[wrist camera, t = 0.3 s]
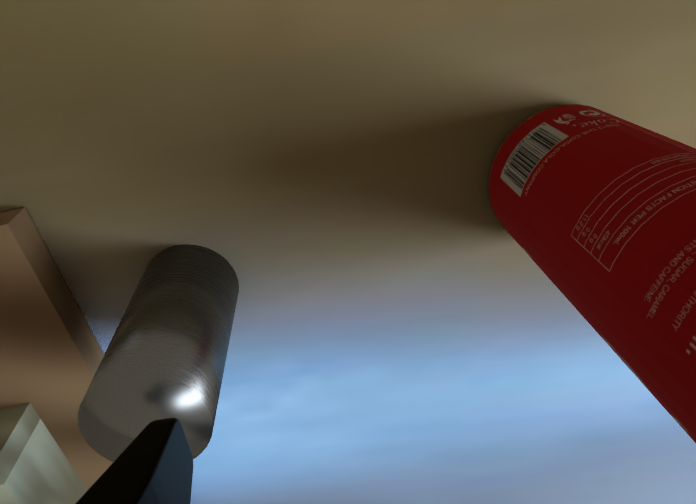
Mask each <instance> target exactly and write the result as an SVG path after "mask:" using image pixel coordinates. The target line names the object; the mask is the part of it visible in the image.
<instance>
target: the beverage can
mask: <svg viewBox="0 0 696 504" xmlns="http://www.w3.org/2000/svg"><path fill="white" fill-rule="evenodd" d="M489 196H490V202H491V205H492V208H493V211H494V213H495V215H496V217H497V218H498V220H499V221H500V223H501V225H502V226H503V227H504V228H505V229H506V230H507V231H508V233H509V234H510V235H511V236H512V237H513V238H514V239H515V240H516V242H517V243H518V244H519V245H520V246H521V247H522V248H523V249H524V251H525V252H526V253H527V254H528V255H529V256H530V257H531V258H532V260H533V261H534V262H535V263H536V264H537V265H538V266H539V267H540V269H541V270H542V271H543V272H544V273H545V274H546V275H547V276H548V278H549V279H550V280H551V281H552V282H553V283H554V284H555V285H556V287H557V288H558V289H559V290H560V291H561V292H562V293H563V294H564V295H565V297H566V298H567V299H568V300H569V301H570V302H571V303H572V304H573V306H574V307H575V308H576V309H577V310H578V311H579V312H580V313H581V315H582V316H583V317H584V318H585V319H586V320H587V321H588V322H589V324H590V325H591V326H592V327H593V328H594V329H595V330H596V331H597V333H598V334H599V335H600V336H601V337H602V338H603V339H604V340H605V342H606V343H607V344H608V345H609V346H610V347H611V348H612V349H613V351H614V352H615V353H616V354H617V355H618V356H619V357H620V358H621V360H622V361H623V362H624V363H625V364H626V365H627V366H628V367H629V369H630V370H631V371H632V372H633V373H634V374H635V375H636V376H637V378H638V379H639V380H640V381H641V382H642V383H643V384H644V385H645V387H646V388H647V389H648V390H649V391H650V392H651V393H652V394H653V396H654V397H655V398H656V399H657V400H658V401H659V402H660V403H661V405H662V406H663V407H664V408H665V409H666V410H667V411H668V412H669V414H670V415H671V416H672V417H673V418H674V419H675V420H676V421H677V423H678V424H679V425H680V426H681V427H682V428H683V429H684V430H685V432H686V433H687V434H688V435H689V436H690V437H691V438H692V439H693V441H694V442H695V443H696V149H695V148H693V147H690V146H688V145H685V144H683V143H680V142H678V141H675V140H673V139H670V138H668V137H665V136H663V135H660V134H658V133H655V132H653V131H651V130H648V129H646V128H643V127H641V126H638V125H636V124H633V123H631V122H628V121H626V120H623V119H621V118H618V117H616V116H613V115H611V114H608V113H606V112H603V111H601V110H598V109H596V108H593V107H590V106H584V105H578V104H576V105H561V106H557V107H553V108H549V109H546V110H543V111H541V112H539V113H537V114H535V115H533V116H531V117H530V118H528V119H527V120H525V121H524V122H523V123H521V124H520V125H519V126H518V127H517V128H516V129H515V130H514V131H513V132H512V133H511V134H510V135H509V136H508V137H507V138H506V140H505V141H504V143H503V144H502V145H501V147H500V148H499V150H498V153H497V155H496V157H495V159H494V161H493V164H492V168H491V171H490V176H489Z"/></svg>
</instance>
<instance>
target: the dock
mask: <svg viewBox="0 0 696 504" xmlns="http://www.w3.org/2000/svg"><path fill="white" fill-rule="evenodd" d="M103 357H104V353H103V351H102V350H101V348H100V346H99V344H98V342H97V340H96V338H95V336H94V335H93V333H92V331H91V329H90V327H89V325H88V323H87V322H86V320H85V318H84V316H83V314H82V312H81V310H80V309H79V307H78V305H77V303H76V301H75V299H74V297H73V296H72V294H71V292H70V290H69V288H68V286H67V284H66V283H65V281H64V279H63V277H62V275H61V273H60V271H59V270H58V268H57V266H56V264H55V262H54V260H53V258H52V257H51V255H50V253H49V251H48V249H47V247H46V245H45V244H44V242H43V240H42V238H41V236H40V234H39V232H38V231H37V229H36V227H35V225H34V223H33V221H32V219H31V218H30V216H29V214H28V212H27V210H26V208H25V207H23V208H19V209H14V210H10V211H5V212H1V213H0V504H75V503H76V502H77V501H78V500H79V499H80V498H81V497H82V496H83V495H84V494H85V492H86V491H87V490H88V489H89V488H90V487H91V486H92V485H93V484H94V483H95V482H96V480H97V479H98V478H99V477H100V476H101V475H102V474H103V473H104V472H105V471H106V470H107V468H108V467H109V466H110V465H111V464H112V463H113V462H112V461H110V460H108V459H106V458H104V457H103V456H101V455H100V454H98V453H97V452H96V451H95V450H93V449H92V448H91V447H90V446H89V445H88V443H87V442H86V441H85V439H84V438H83V436H82V434H81V432H80V429H79V426H78V420H77V419H78V410H79V406H80V404H81V402H82V400H83V398H84V396H85V394H86V392H87V390H88V388H89V385H90V383H91V381H92V379H93V377H94V375H95V373H96V371H97V369H98V367H99V365H100V363H101V361H102V359H103Z"/></svg>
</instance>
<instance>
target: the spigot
mask: <svg viewBox="0 0 696 504" xmlns="http://www.w3.org/2000/svg"><path fill="white" fill-rule="evenodd" d="M238 292H239V284H238V279H237V275H236V273H235V271H234V269H233V268H232V266H231V265H230V264H229V263H228V261H227V260H225V259H224V258H223V257H222V256H221V255H219V254H218V253H216V252H214V251H212V250H210V249H208V248H204V247H201V246H196V245H178V246H174V247H170V248H167V249H165V250H163V251H161V252H160V253H158V254H157V255H156V256H155V257H154V258H153V259H152V260H151V261H150V262H149V264H148V266H147V268H146V270H145V272H144V274H143V276H142V278H141V280H140V282H139V284H138V286H137V288H136V290H135V293H134V295H133V297H132V299H131V301H130V303H129V305H128V307H127V309H126V311H125V313H124V315H123V317H122V319H121V321H120V323H119V326H118V328H117V330H116V332H115V334H114V336H113V338H112V340H111V342H110V344H109V346H108V348H107V350H106V352H105V354H104V357H103V359H102V361H101V363H100V365H99V367H98V369H97V371H96V373H95V375H94V377H93V379H92V381H91V383H90V385H89V388H88V390H87V392H86V394H85V396H84V398H83V400H82V402H81V404H80V406H79V410H78V419H77V420H78V426H79V429H80V432H81V434H82V436H83V438H84V439H85V441H86V442H87V443H88V445H89V446H90V447H91V448H92V449H93V450H95V451H96V452H97V453H98V454H100V455H101V456H103V457H104V458H106V459H108V460H110V461H112V462H114V461H115V460H116V459H117V458H118V456H119V455H120V454H121V453H122V452H123V451H124V450H125V449H126V448H127V447H128V446H129V444H130V443H131V442H132V441H133V440H134V439H135V438H136V437H137V436H138V435H139V434H140V432H141V431H142V430H143V429H144V428H145V427H146V426H147V425H148V424H149V423H150V422H152V421H154V420H159V419H166V418H177V419H178V420H179V421H180V422H181V425H182V427H183V430H184V433H185V436H186V438H187V441H188V444H189V447H190V450H191V453H192V457H193V459H194V458H196V457H197V456H198V455H199V454H201V453H202V452H203V450H204V449H205V448H206V447H207V445H208V443H209V441H210V439H211V436H212V431H213V426H214V420H215V415H216V410H217V404H218V399H219V394H220V388H221V383H222V378H223V372H224V367H225V361H226V356H227V351H228V345H229V340H230V335H231V329H232V324H233V319H234V313H235V308H236V303H237V297H238Z"/></svg>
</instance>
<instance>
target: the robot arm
mask: <svg viewBox="0 0 696 504" xmlns="http://www.w3.org/2000/svg"><path fill="white" fill-rule="evenodd" d="M192 475H193V457H192V453H191V450H190V447H189V444H188V441H187V438H186V436H185V433H184V430H183V427H182V425H181V422H180V421H179V420H178V419H177V418H166V419H159V420H154V421H152V422H150V423H149V424H148V425H147V426H146V427H145V428H144V429H143V430H142V431H141V432H140V434H139V435H138V436H137V437H136V438H135V439H134V440H133V441H132V442H131V443H130V444H129V446H128V447H127V448H126V449H125V450H124V451H123V452H122V453H121V454H120V455H119V456H118V458H117V459H116V460H115V461H114V462H113V463H112V464H111V465H110V466H109V467H108V468H107V470H106V471H105V472H104V473H103V474H102V475H101V476H100V477H99V478H98V479H97V480H96V482H95V483H94V484H93V485H92V486H91V487H90V488H89V489H88V490H87V491H86V492H85V494H84V495H83V496H82V497H81V498H80V499H79V500H78V501H77V502H76V503H75V504H190V499H191V487H192Z"/></svg>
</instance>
